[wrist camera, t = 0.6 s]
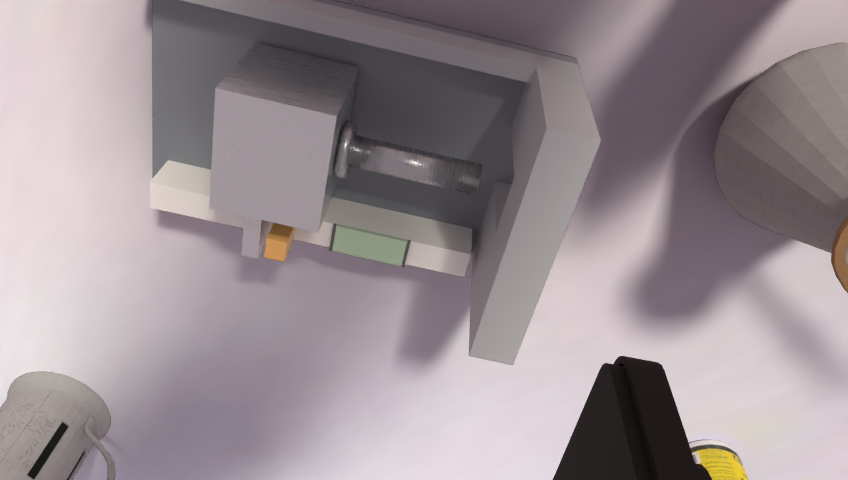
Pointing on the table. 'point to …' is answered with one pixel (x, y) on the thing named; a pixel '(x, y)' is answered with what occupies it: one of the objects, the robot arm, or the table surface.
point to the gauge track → (399, 142)
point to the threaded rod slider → (301, 144)
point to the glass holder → (50, 428)
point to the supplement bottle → (718, 459)
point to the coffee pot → (792, 151)
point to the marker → (279, 242)
